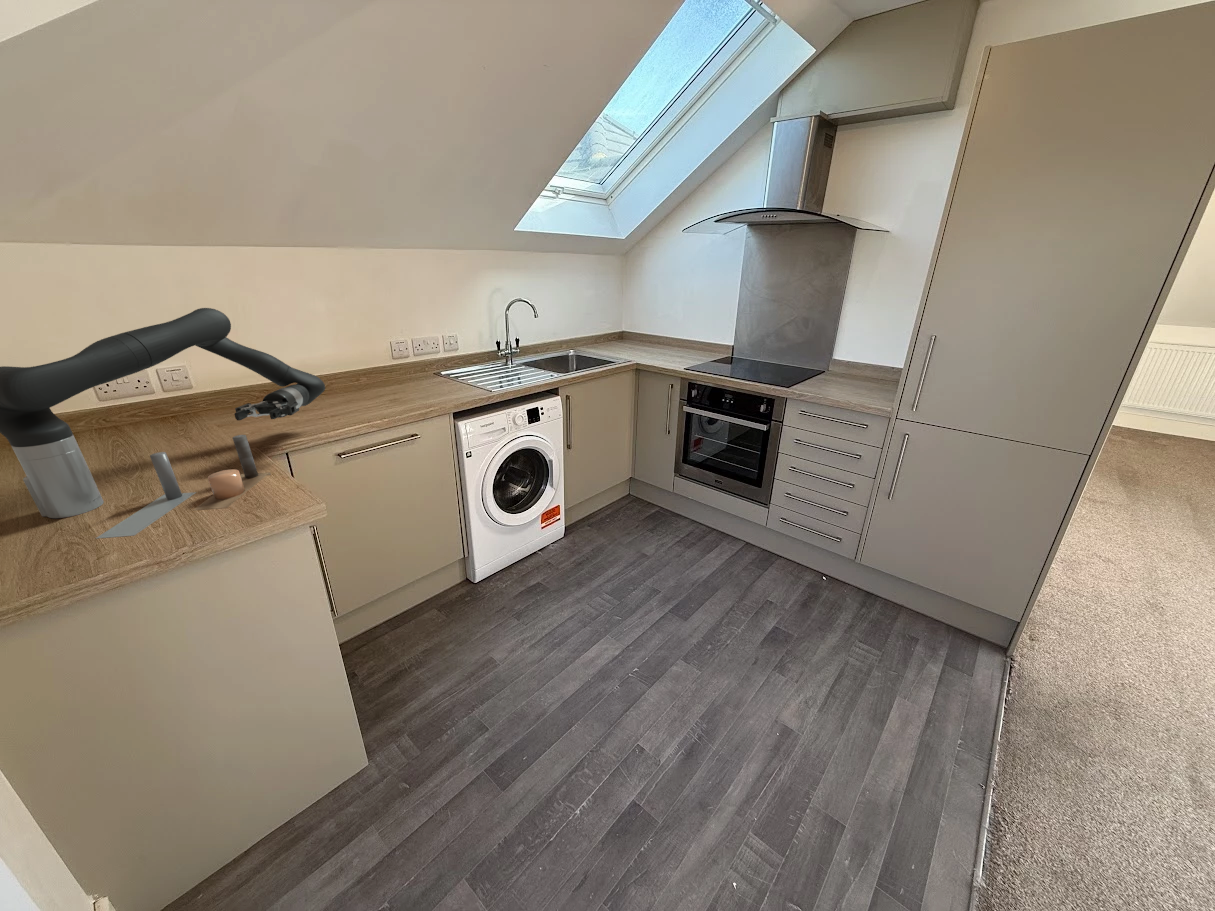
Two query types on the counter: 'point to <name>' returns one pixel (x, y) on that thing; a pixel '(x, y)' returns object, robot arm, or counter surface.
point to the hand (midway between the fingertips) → (254, 416)
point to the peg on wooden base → (248, 477)
